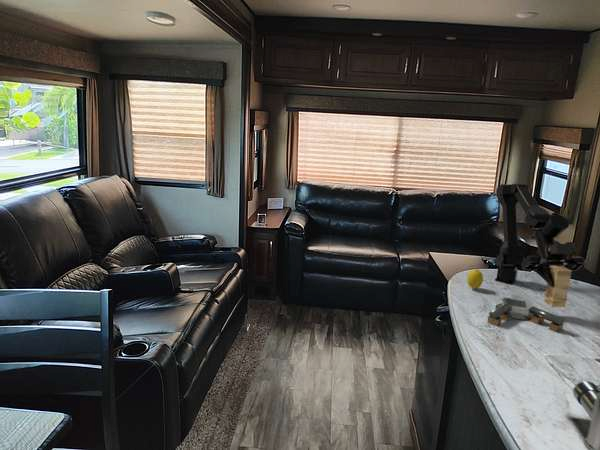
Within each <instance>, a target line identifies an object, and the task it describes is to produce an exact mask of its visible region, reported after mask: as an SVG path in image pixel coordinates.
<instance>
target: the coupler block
mask: <svg viewBox="0 0 600 450" xmlns="http://www.w3.org/2000/svg"><path fill="white" fill-rule="evenodd" d="M550 272H551V275H552V278H553V281H554V287H551V286H550V285H549V284H548V283H547V282H546V289H545V292H544V300H543V302H544V303H546V304H547V305H549V306H550V307H551V308H566V304H567V301H568V298H567V297H568V292H569V287H570V281H571V276H572V272H573V271H571V270H570V269H568V268H566V267H564V266H550Z"/></svg>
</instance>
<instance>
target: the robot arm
mask: <svg viewBox="0 0 600 450" xmlns="http://www.w3.org/2000/svg"><path fill="white" fill-rule="evenodd" d="M495 193H496V197H497V201H498V203H499V204H500V205H501V207H502V222H503V223H502V225H503V227H502V228H503V229H502V230H503V242H502V245H501V247H500V249H499V254H498V255H497V256H496V257H495V258H494V265H495V266H497V273H496V278H494V280H495V281H497V282H501V283H505V284H509V285H513V283H515V282H516V281H517V280H518V279H517V277H518V273H519V272H518V270H517V269H518V268H520V269H521V268H522V271H531V270H533V273H536V274H537V275H538V276H540V277H541V278H542V279H543V280H544V281H545V282H546V284H547V283H548V284H549V285H550V286H551V287H554V281H553V278H552V275H551V272H550V266H564V267H566V268H568V269H570V270H571V271H572V272H576V271H578V270H580V269H581V268H582V267H583V266H584V265H586V260H585V259H584V257H582V256H571V254H572V253H575V252H576V249H577V248H576V245H575V243H574V241H567V242H565V243H559V242H556V239H555V238H559V236H561V234H562V233H564V232H565V230H567V229H568V228H569V226H570V223H569V220H568V219H567V218H566V217H564V216H562V215H561V214H560V212H557V211H556V212H552V213H551V214H550V212H548V210H546V209H545V208H542V207H541V206H539V204H538V202H537V201H536V199H535V198H534V196H533V195H532V193H531V192H530V190H529V186H528V184H526V183H518V182H517V183H516V182H515V183H512V184H510V183H509V184H508V183H507V184H505V183H503V184H502V183H501V184H500V185H499V186H497V188H496V191H495ZM518 203H519V204H520V206H521V208H522V210H523V211H524V213H525V216H524V220H525V221H524V222H525V224H526V226H527V227H528V229H535V231H533V233H532V235H531V237H530V238H531V240H535V243H536V246H537V250H536V255H527V257H525V253H524V246H523V245H522V244H520V242H519V240H518V225H517V224H518V223H517V222H518V221H517V204H518ZM536 229H537V230H536ZM537 254H538V255H537ZM566 255H570V257H568V258H567V259H564V258H565V257H566ZM533 268H534V269H533Z"/></svg>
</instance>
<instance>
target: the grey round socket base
mask: <svg viewBox="0 0 600 450" xmlns="http://www.w3.org/2000/svg"><path fill="white" fill-rule="evenodd" d="M505 304H510V305H511V306H512V310H511V311H509V312H508V313H511V315H510V320H511V319H512V320H518V321H529V320H530V321H531V317H532V315H533V314H531V313H529V309H530V308H531V306H530V304H529V302H528V301H527V300H524V299H519V298H511V297H503V298H501V302H500V303H498V304H496V305H495V308H494V310H495V309H497V308H499V307H501V306H503V305H505Z"/></svg>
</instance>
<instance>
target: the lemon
mask: <svg viewBox="0 0 600 450" xmlns="http://www.w3.org/2000/svg"><path fill="white" fill-rule="evenodd" d="M483 277H484V276H483V272H481V271H480V270H479V269H477V268H475V269H471V270H470V271H469V272H468V274H467V277H466V281H467V285H468V286H469V287H470V288H472V289H473V290H475V289H477V288H479V287H481V286H482V285H483V282H484V278H483Z"/></svg>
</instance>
